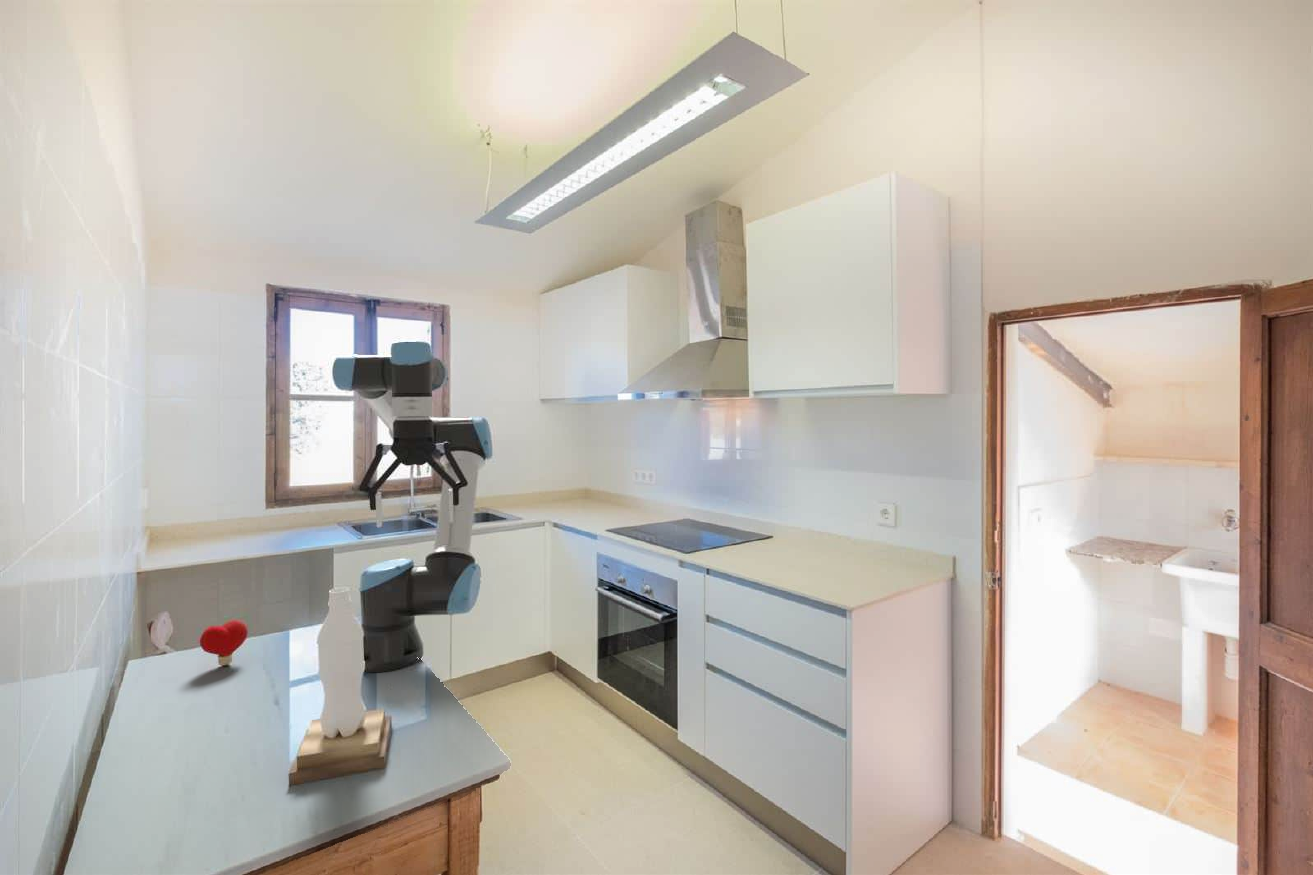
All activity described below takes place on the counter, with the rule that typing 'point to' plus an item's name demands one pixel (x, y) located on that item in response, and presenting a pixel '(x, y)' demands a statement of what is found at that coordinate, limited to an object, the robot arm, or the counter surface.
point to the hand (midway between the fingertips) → (416, 523)
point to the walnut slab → (343, 763)
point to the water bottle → (341, 667)
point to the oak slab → (341, 742)
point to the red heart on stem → (224, 640)
